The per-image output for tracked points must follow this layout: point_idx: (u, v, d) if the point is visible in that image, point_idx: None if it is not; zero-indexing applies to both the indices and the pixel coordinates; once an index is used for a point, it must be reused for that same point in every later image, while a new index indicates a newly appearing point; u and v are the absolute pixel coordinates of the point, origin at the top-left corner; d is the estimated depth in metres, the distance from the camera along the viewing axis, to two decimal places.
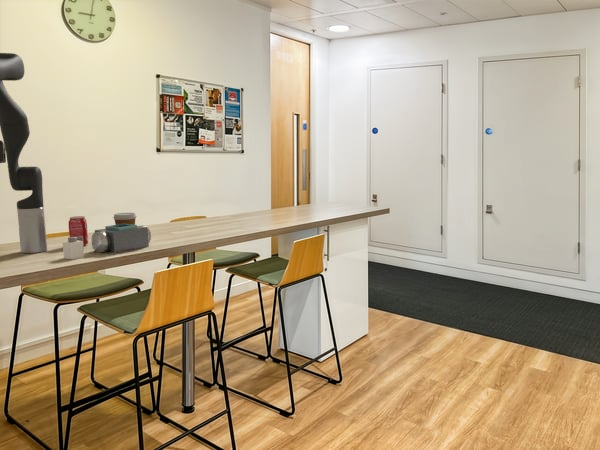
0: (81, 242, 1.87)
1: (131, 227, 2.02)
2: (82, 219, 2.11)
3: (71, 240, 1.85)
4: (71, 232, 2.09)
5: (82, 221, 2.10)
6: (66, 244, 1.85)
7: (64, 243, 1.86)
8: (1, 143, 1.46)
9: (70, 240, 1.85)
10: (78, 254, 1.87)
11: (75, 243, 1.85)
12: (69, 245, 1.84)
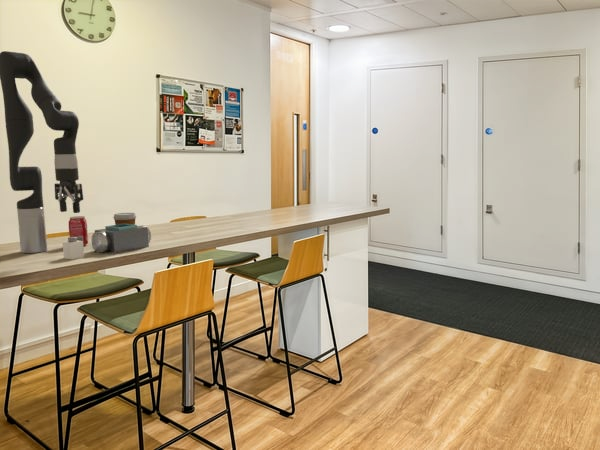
0: (81, 242, 1.87)
1: (131, 227, 2.02)
2: (82, 219, 2.11)
3: (71, 240, 1.85)
4: (71, 232, 2.09)
5: (82, 221, 2.10)
6: (66, 244, 1.85)
7: (64, 243, 1.86)
8: None
9: (70, 240, 1.85)
10: (78, 254, 1.87)
11: (75, 243, 1.85)
12: (69, 245, 1.84)
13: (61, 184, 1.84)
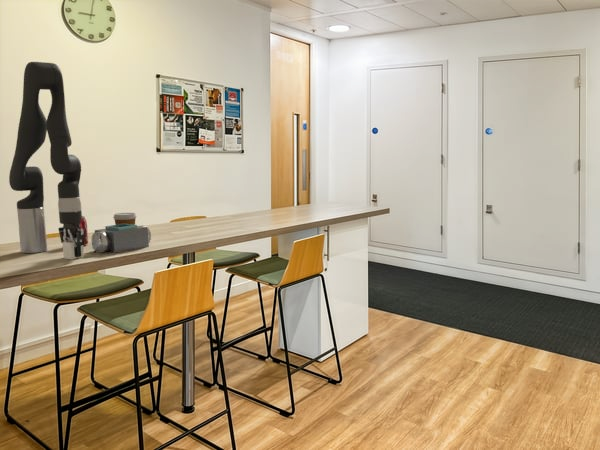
0: None
1: (131, 227, 2.02)
2: (82, 219, 2.11)
3: None
4: None
5: (82, 221, 2.10)
6: (66, 244, 1.85)
7: (64, 243, 1.86)
8: None
9: (70, 240, 1.85)
10: None
11: None
12: (69, 245, 1.84)
13: (64, 226, 1.87)
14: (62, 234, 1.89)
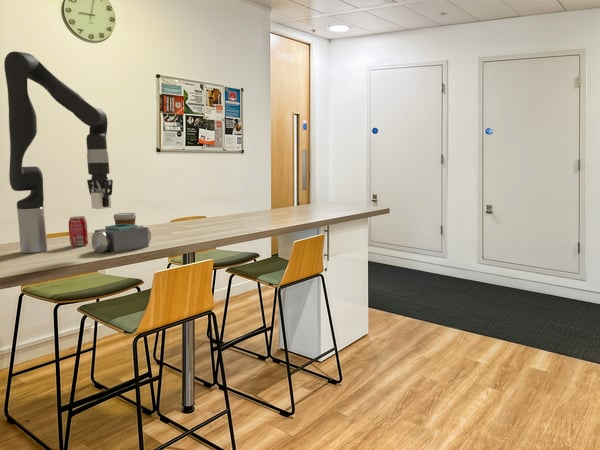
0: None
1: (131, 227, 2.02)
2: (82, 219, 2.10)
3: None
4: (71, 232, 2.09)
5: (82, 221, 2.10)
6: (94, 194, 1.92)
7: (92, 193, 1.93)
8: None
9: (98, 190, 1.93)
10: None
11: None
12: (97, 195, 1.91)
13: (93, 177, 1.94)
14: (90, 186, 1.96)
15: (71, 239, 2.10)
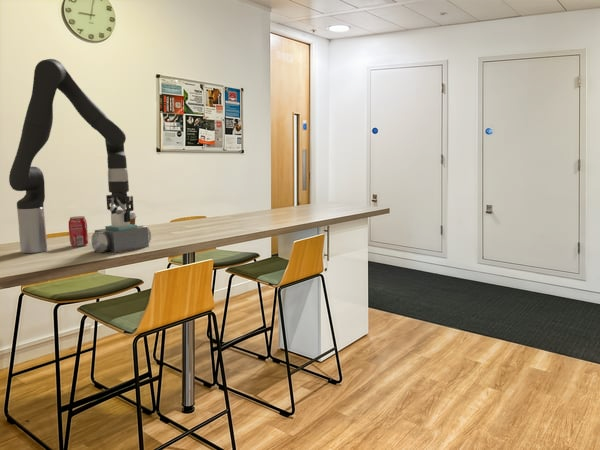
0: None
1: (131, 227, 2.02)
2: (82, 219, 2.11)
3: (119, 212, 2.01)
4: (71, 232, 2.09)
5: (82, 221, 2.10)
6: (114, 216, 2.01)
7: (112, 215, 2.02)
8: None
9: (118, 212, 2.01)
10: (125, 225, 2.02)
11: (122, 215, 2.01)
12: (117, 216, 2.00)
13: (113, 195, 2.02)
14: (109, 201, 2.05)
15: (71, 239, 2.10)
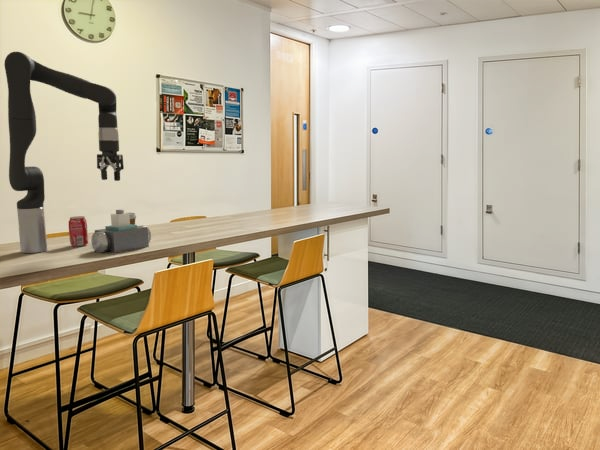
0: (128, 214, 2.03)
1: (131, 227, 2.02)
2: (82, 219, 2.11)
3: (119, 212, 2.01)
4: (71, 232, 2.09)
5: (82, 221, 2.10)
6: (114, 216, 2.01)
7: (112, 215, 2.02)
8: None
9: (118, 212, 2.01)
10: (125, 225, 2.02)
11: (122, 215, 2.01)
12: (117, 216, 2.00)
13: (103, 154, 2.05)
14: (99, 160, 2.08)
15: (71, 239, 2.10)
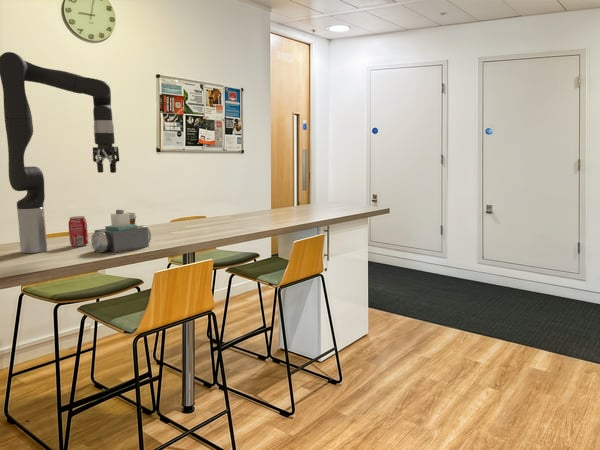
0: (128, 214, 2.03)
1: (131, 227, 2.02)
2: (82, 219, 2.11)
3: (119, 212, 2.01)
4: (71, 232, 2.09)
5: (82, 221, 2.10)
6: (114, 216, 2.01)
7: (112, 215, 2.02)
8: None
9: (118, 212, 2.01)
10: (125, 225, 2.02)
11: (122, 215, 2.01)
12: (117, 216, 2.00)
13: (99, 147, 2.07)
14: (95, 153, 2.10)
15: (71, 239, 2.10)
